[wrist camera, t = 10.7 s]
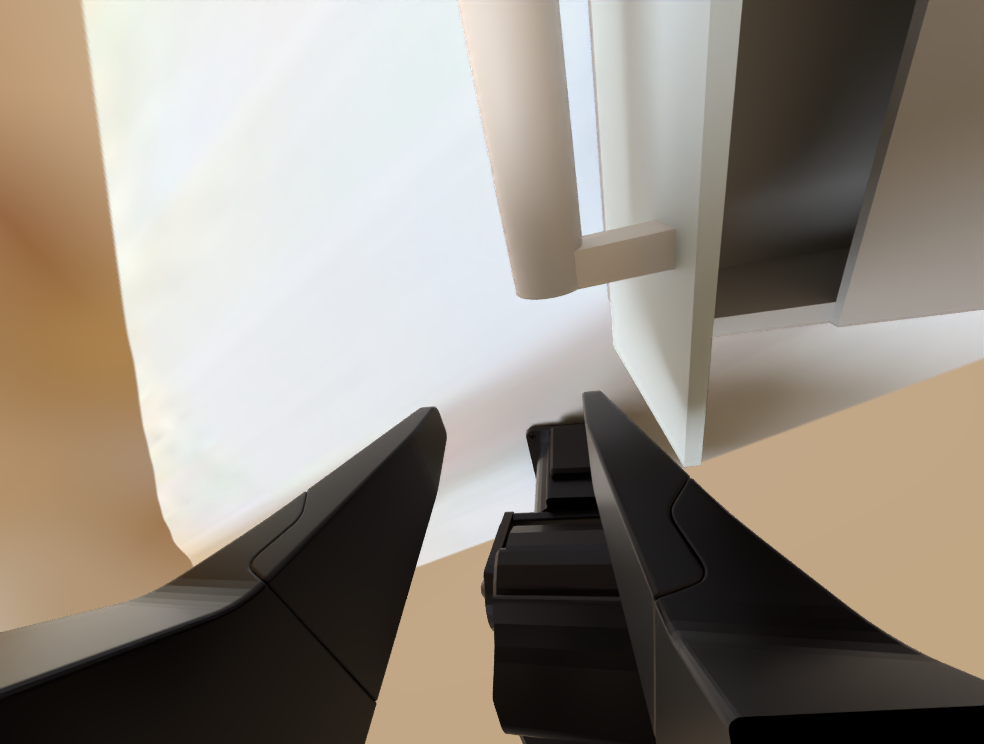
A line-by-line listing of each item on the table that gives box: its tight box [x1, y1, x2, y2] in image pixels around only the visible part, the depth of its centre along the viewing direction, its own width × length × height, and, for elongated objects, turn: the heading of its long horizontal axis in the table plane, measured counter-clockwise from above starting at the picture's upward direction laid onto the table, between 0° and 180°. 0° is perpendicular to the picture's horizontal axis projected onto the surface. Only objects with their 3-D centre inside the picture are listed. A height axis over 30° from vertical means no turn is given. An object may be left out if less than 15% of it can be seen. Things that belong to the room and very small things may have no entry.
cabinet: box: [588, 0, 984, 337], centre depth 11 cm, size 18×14×6 cm
